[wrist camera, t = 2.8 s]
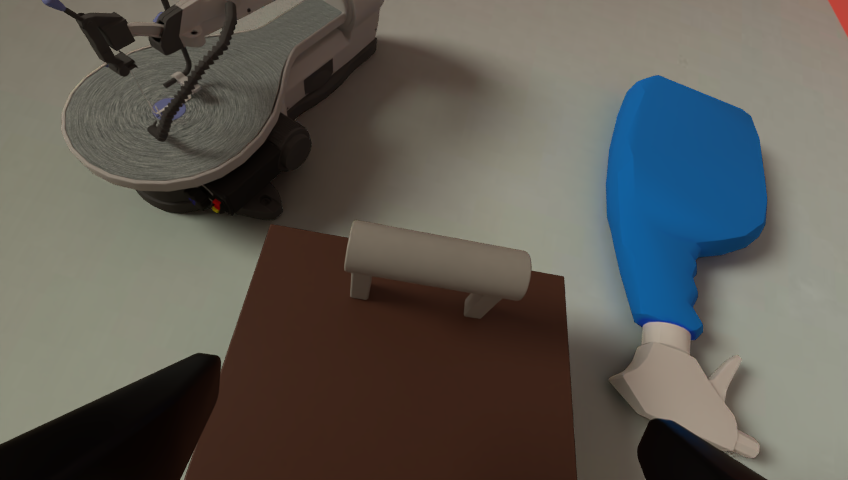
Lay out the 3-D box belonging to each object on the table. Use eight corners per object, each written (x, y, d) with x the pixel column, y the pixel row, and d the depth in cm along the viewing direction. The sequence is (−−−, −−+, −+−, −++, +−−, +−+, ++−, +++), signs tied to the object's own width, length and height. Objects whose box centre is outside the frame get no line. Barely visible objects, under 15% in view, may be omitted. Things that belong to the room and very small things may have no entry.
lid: (272, 230, 17) (246, 148, 12) (558, 281, 18) (630, 225, 13) (170, 537, 12) (62, 593, 7) (574, 574, 13) (698, 643, 9)
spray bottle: (635, 62, 30) (588, 383, 18) (771, 116, 30) (809, 474, 18) (612, 92, 33) (558, 390, 21) (737, 142, 33) (752, 470, 21)
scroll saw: (285, -190, 22) (463, -94, 20) (302, 0, 31) (425, 75, 30) (-169, -62, 12) (109, 133, 11) (50, 157, 21) (216, 277, 20)
